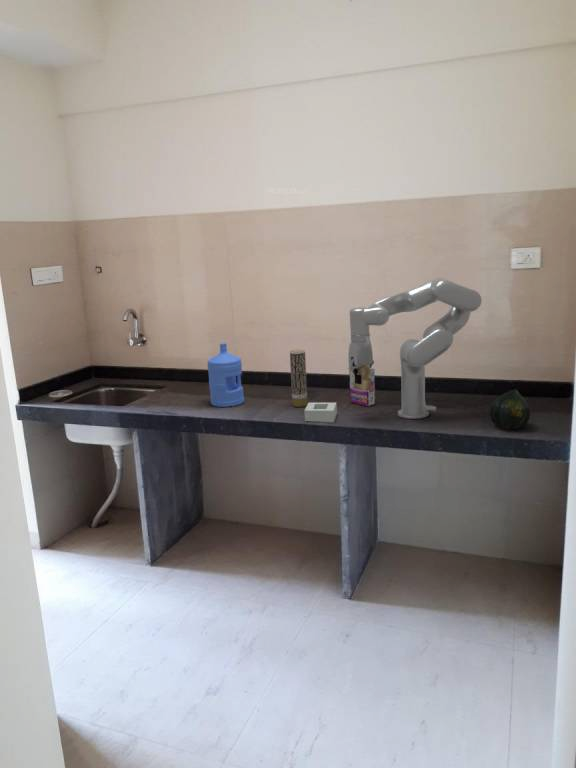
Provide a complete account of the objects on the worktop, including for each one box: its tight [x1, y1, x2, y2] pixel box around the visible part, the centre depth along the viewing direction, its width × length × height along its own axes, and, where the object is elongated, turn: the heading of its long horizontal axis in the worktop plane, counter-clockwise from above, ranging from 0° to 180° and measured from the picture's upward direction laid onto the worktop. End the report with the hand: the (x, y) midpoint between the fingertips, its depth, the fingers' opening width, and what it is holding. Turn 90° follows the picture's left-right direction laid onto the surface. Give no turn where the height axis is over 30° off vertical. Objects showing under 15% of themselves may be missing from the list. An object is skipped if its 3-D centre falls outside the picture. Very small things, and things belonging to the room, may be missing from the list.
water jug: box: [207, 343, 245, 408], centre depth 294 cm, size 16×16×28 cm
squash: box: [489, 388, 531, 431], centre depth 243 cm, size 14×15×15 cm
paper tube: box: [289, 349, 308, 408], centre depth 284 cm, size 7×7×25 cm
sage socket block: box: [303, 402, 338, 423], centre depth 266 cm, size 12×12×5 cm
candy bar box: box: [348, 367, 376, 407], centre depth 283 cm, size 11×5×16 cm, turn 42°
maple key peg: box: [353, 365, 371, 391], centre depth 260 cm, size 4×6×10 cm, turn 40°
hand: (362, 382), depth 260 cm, fingers closed on maple key peg, 4 cm apart
